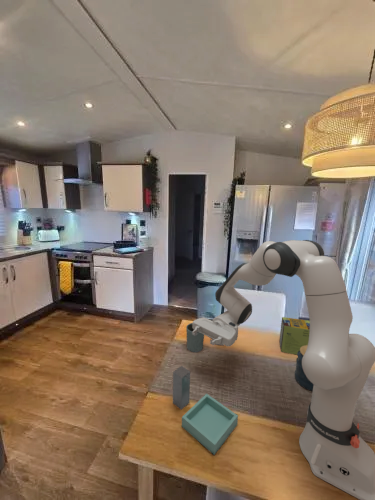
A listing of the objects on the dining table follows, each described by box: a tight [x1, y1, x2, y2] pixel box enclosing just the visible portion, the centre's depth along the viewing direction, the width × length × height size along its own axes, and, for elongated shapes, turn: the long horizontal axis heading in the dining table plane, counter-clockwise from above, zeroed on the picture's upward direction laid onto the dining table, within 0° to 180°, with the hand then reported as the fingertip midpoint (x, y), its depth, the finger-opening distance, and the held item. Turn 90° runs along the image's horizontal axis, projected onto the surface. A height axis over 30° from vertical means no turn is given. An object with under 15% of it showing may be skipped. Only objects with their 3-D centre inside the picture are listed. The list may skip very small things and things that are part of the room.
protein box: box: [278, 316, 310, 356], centre depth 126 cm, size 10×15×16 cm
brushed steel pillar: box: [172, 365, 191, 410], centre depth 91 cm, size 5×5×14 cm
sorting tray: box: [181, 393, 239, 456], centre depth 82 cm, size 14×14×4 cm
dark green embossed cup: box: [185, 322, 205, 353], centre depth 126 cm, size 10×10×12 cm
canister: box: [294, 345, 314, 392], centre depth 103 cm, size 13×13×18 cm
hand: (202, 338), depth 96 cm, fingers open, 8 cm apart
